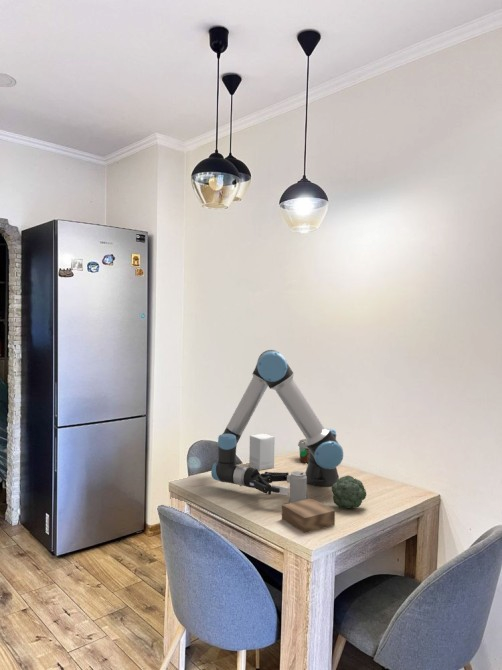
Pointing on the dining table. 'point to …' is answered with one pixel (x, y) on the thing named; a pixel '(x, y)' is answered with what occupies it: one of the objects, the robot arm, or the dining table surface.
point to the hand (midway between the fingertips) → (295, 486)
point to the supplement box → (261, 451)
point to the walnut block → (308, 515)
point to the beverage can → (298, 486)
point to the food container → (303, 451)
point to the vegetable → (348, 492)
